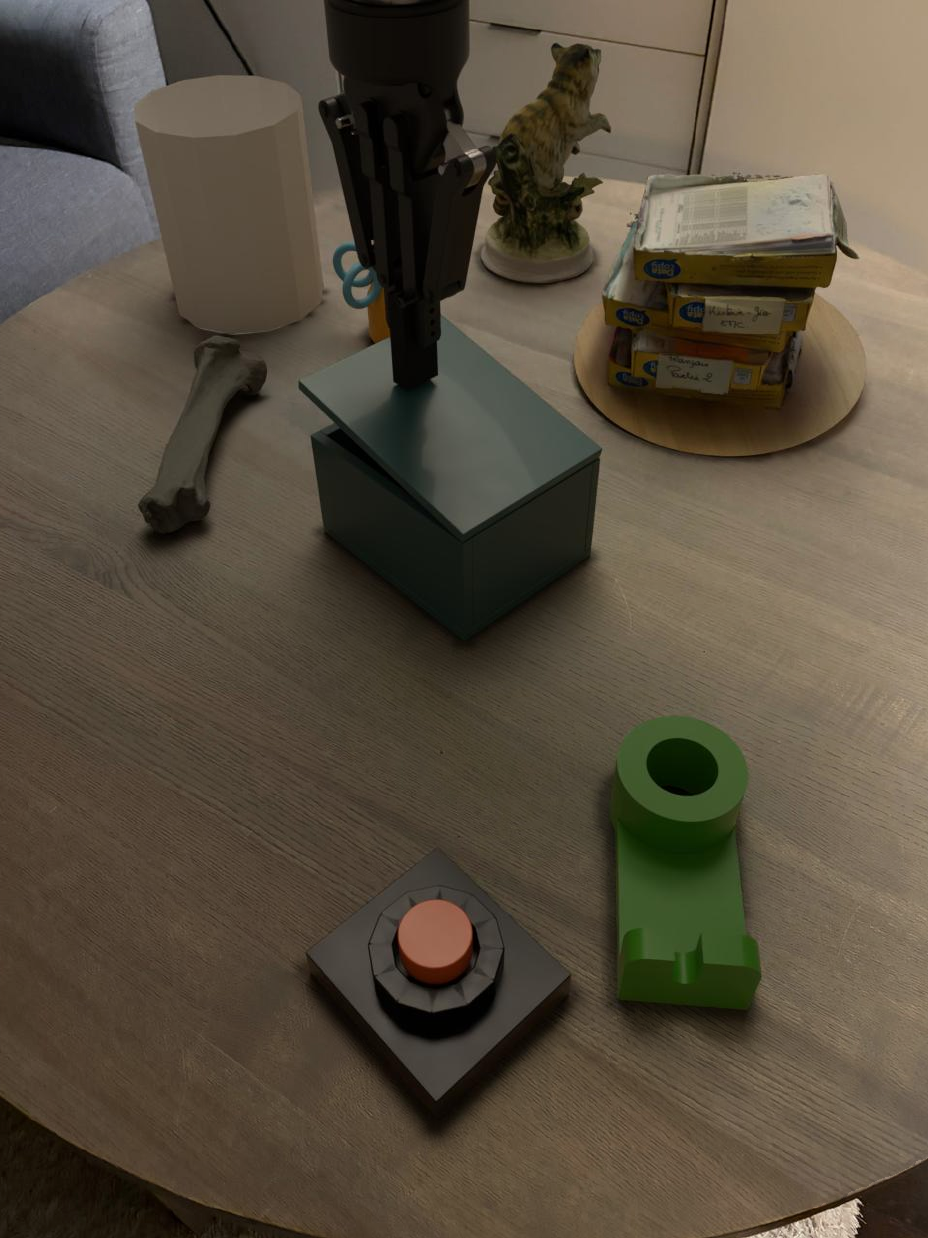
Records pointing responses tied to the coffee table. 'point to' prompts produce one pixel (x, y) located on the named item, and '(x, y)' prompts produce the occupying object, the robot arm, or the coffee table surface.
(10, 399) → the coffee table surface
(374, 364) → the tin lid
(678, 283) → the paper stack
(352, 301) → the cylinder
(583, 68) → the figurine
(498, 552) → the tin
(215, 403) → the bone
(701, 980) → the green ring bracket
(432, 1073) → the control block
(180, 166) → the container
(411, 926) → the button
